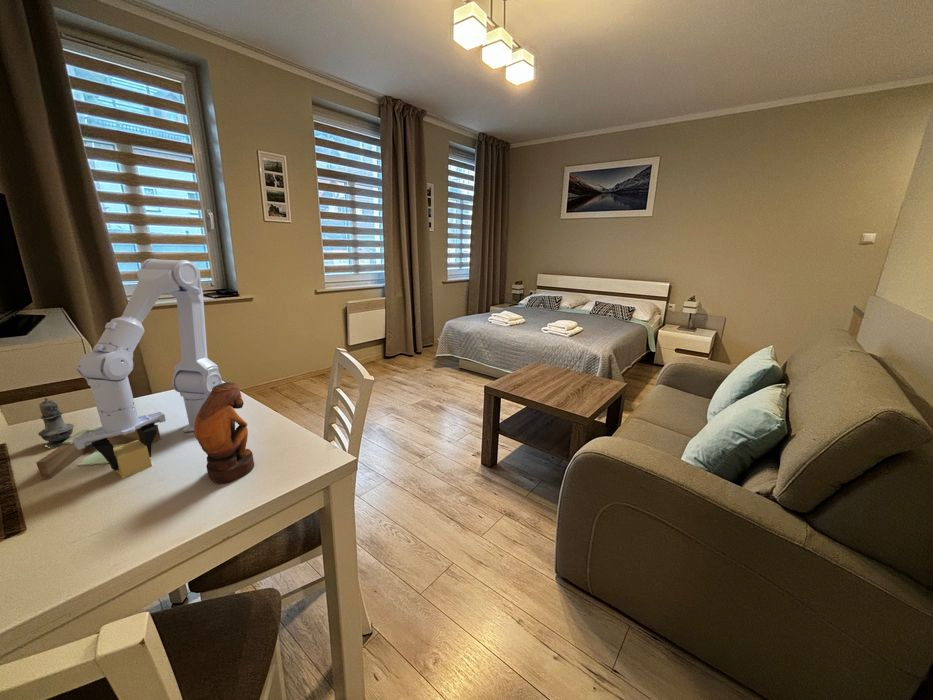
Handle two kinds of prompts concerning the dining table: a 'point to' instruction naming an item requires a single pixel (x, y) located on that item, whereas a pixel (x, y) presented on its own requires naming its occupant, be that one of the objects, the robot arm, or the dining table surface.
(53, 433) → the grey stone finial
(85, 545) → the dining table surface
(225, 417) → the figurine
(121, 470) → the ochre block
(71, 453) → the walnut walls
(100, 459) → the sage pad
